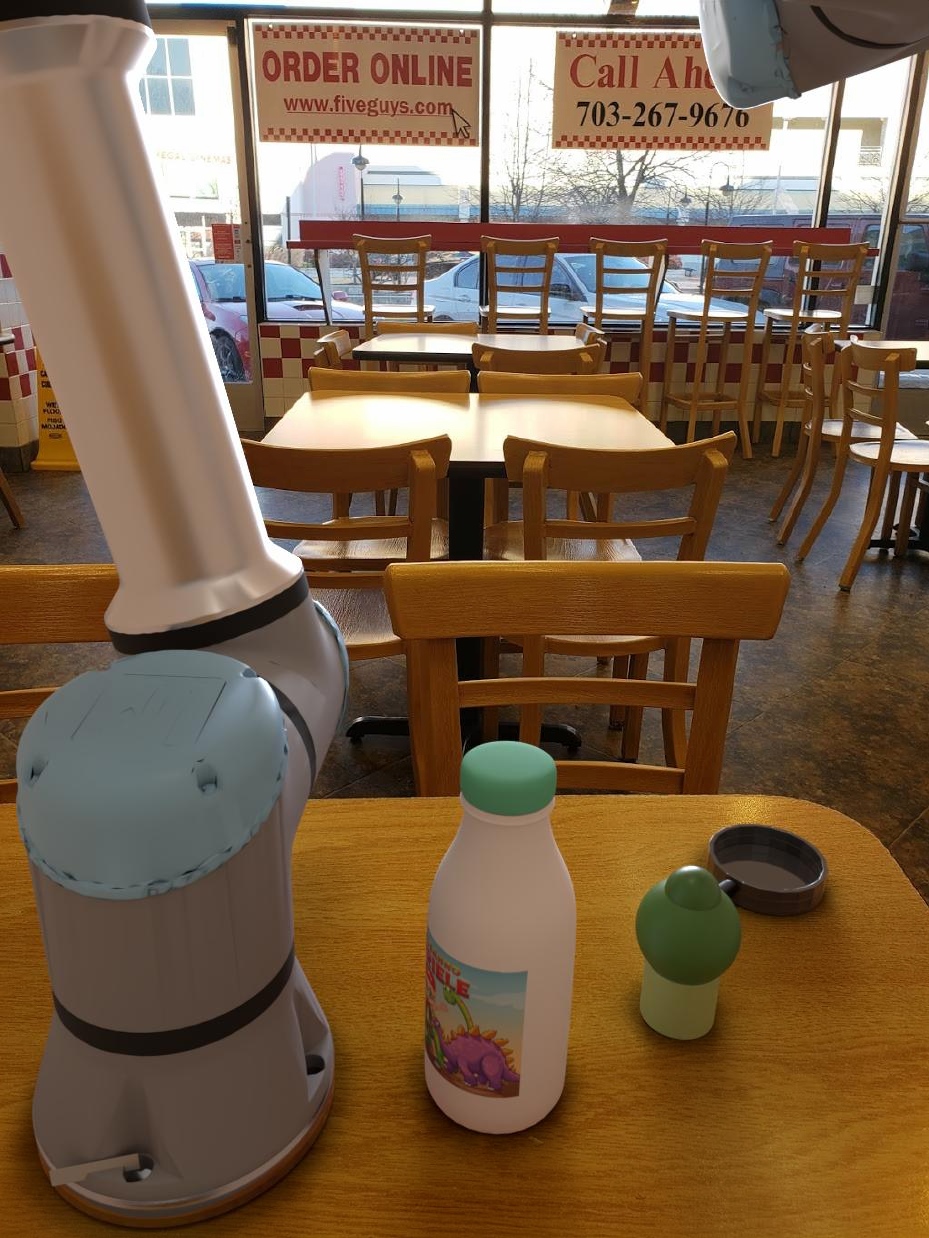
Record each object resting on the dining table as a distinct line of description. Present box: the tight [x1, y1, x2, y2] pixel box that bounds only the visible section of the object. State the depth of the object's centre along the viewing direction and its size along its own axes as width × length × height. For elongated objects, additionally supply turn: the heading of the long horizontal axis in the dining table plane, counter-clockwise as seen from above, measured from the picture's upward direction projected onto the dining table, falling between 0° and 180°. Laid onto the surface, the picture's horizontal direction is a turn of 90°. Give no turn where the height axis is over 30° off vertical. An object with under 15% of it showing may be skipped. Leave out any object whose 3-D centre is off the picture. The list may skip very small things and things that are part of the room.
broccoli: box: [634, 865, 743, 1041], centre depth 55 cm, size 6×6×10 cm
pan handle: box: [719, 880, 737, 898], centre depth 64 cm, size 1×8×1 cm, turn 131°
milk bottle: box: [424, 740, 577, 1135], centre depth 48 cm, size 8×8×20 cm
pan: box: [705, 823, 829, 917], centre depth 69 cm, size 8×8×2 cm
